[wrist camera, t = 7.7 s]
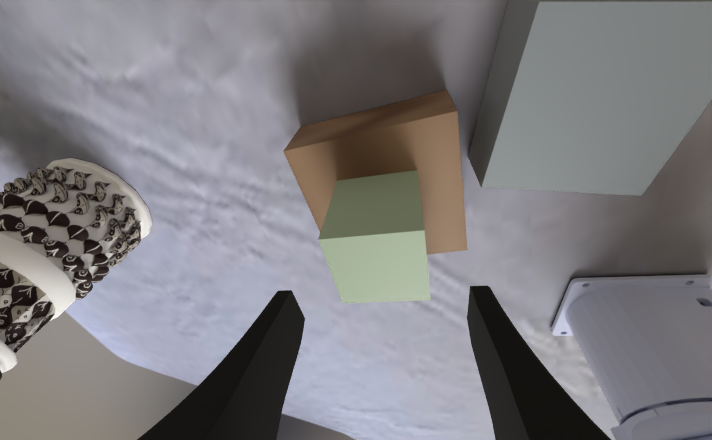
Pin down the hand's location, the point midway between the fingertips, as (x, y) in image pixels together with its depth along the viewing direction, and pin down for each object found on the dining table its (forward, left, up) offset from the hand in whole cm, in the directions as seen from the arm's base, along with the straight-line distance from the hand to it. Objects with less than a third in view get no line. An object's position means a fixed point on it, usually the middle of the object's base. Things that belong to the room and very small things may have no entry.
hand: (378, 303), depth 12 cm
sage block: (0, 0, -7) cm, 7 cm away
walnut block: (0, 0, -11) cm, 11 cm away
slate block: (-10, -4, -11) cm, 15 cm away
